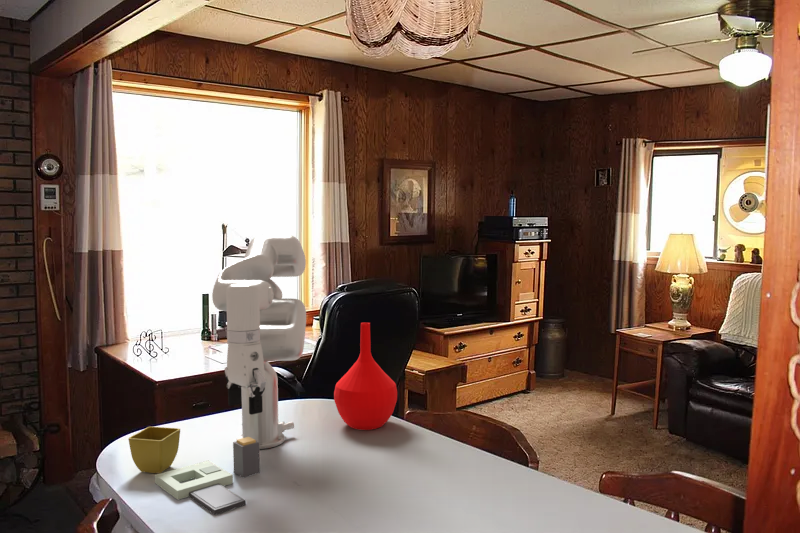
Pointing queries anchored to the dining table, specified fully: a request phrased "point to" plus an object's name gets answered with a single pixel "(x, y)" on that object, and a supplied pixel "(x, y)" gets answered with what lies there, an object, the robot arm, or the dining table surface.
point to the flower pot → (154, 448)
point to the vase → (365, 390)
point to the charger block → (246, 457)
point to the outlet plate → (202, 474)
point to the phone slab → (217, 498)
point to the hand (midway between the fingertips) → (245, 408)
